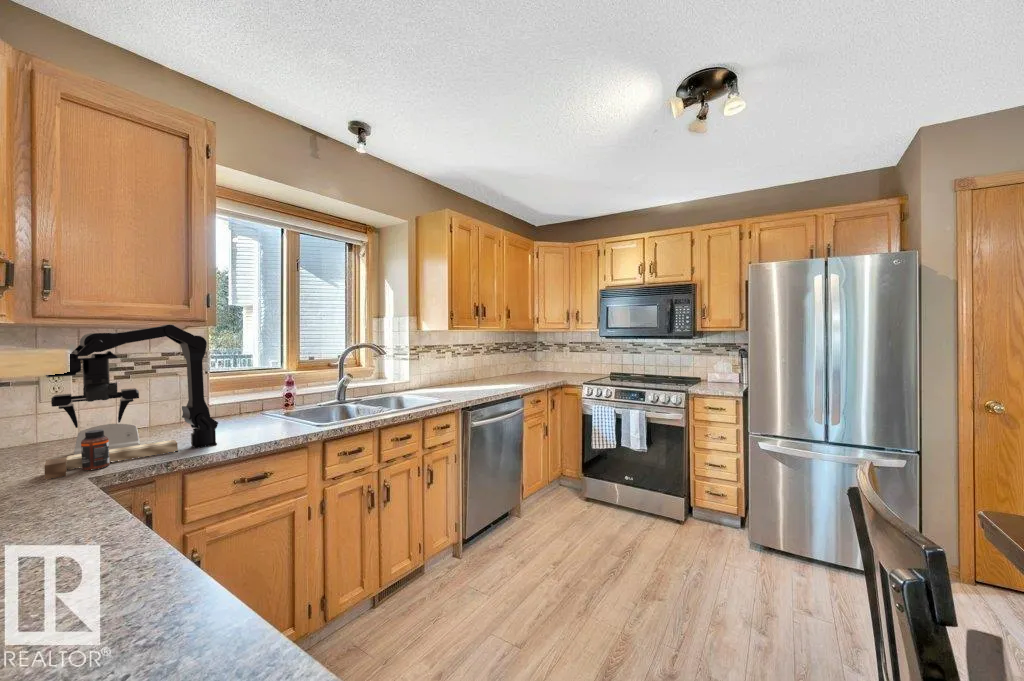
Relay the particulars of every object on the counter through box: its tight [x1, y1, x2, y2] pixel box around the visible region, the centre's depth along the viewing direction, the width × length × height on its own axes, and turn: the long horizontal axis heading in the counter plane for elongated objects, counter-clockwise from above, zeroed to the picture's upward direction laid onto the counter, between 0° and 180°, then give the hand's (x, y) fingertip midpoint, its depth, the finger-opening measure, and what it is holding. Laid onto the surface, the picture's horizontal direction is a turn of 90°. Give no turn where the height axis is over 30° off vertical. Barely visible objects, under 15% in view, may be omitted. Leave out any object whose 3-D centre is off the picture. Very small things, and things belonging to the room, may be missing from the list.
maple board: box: [66, 439, 178, 470], centre depth 136 cm, size 26×6×3 cm, turn 135°
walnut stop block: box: [43, 456, 68, 480], centre depth 120 cm, size 4×7×4 cm, turn 45°
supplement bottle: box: [81, 430, 110, 471], centre depth 126 cm, size 6×6×11 cm
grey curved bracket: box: [73, 423, 141, 455], centre depth 146 cm, size 17×5×10 cm, turn 130°
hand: (98, 424), depth 128 cm, fingers open, 9 cm apart
